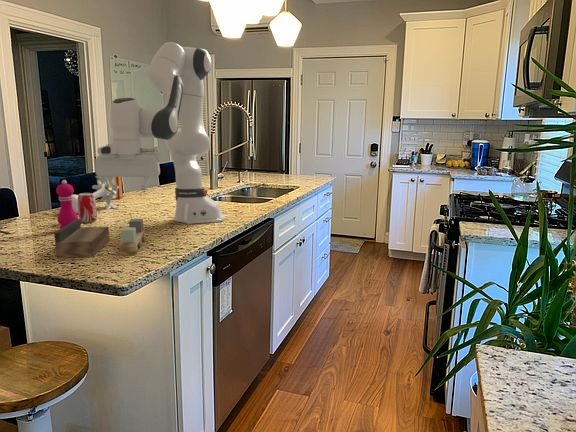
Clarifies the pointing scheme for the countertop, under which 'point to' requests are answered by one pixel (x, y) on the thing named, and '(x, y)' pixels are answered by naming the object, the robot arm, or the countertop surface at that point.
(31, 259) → the countertop surface
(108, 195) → the flower vase
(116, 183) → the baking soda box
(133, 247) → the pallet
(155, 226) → the countertop surface
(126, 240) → the block
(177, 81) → the robot arm
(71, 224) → the block
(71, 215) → the pepper mill
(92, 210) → the soda can
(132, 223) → the block
